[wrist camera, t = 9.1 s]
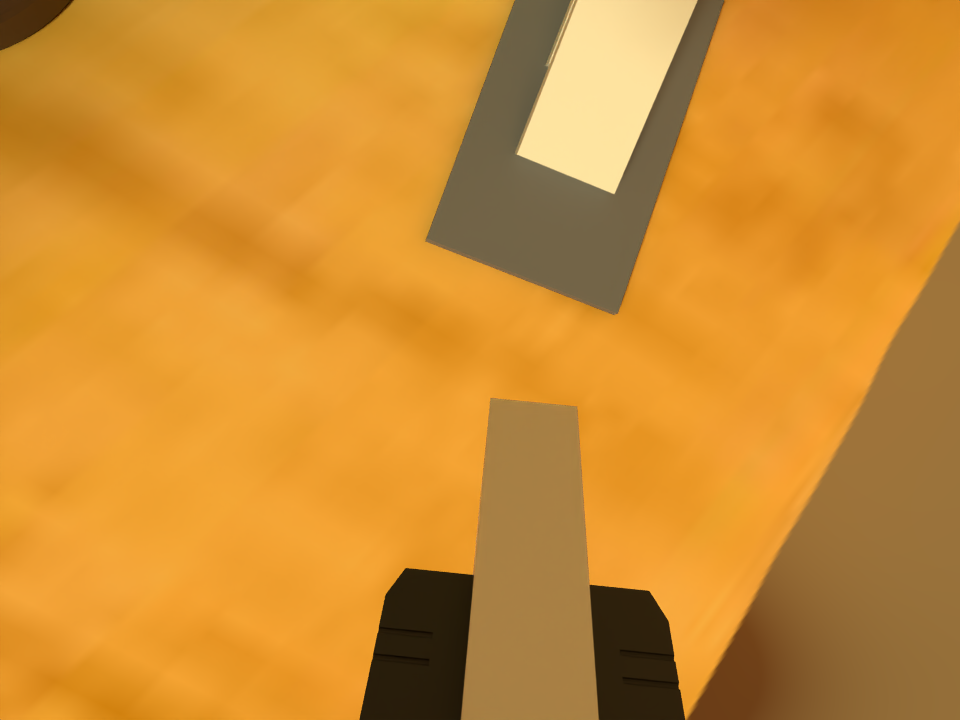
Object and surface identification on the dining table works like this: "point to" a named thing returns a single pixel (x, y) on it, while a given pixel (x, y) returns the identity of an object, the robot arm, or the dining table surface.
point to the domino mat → (549, 193)
